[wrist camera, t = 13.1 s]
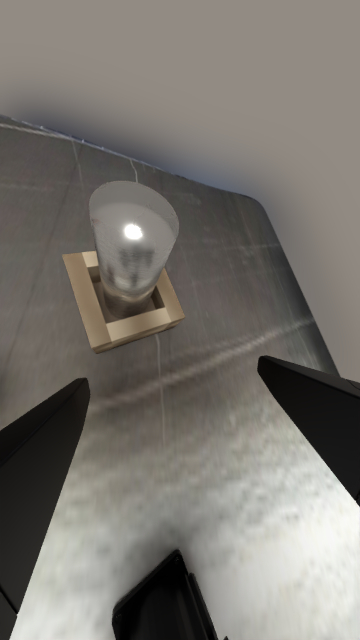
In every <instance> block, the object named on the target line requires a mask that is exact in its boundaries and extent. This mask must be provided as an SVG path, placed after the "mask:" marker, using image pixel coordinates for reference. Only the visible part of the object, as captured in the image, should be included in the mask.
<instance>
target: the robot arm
mask: <svg viewBox="0 0 360 640" xmlns="http://www.w3.org/2000/svg"><path fill="white" fill-rule="evenodd" d="M257 371H258V374H259V375H260V377H261V378H262V380H263V381H264V383H265V384H266V386H267V388H268V389H269V391H270V392H271V394H272V395H273V397H274V398H275V399H276V401H277V402H278V403H279V404H280V406H281V407H282V408H283V410H284V411H285V412H286V413H287V415H288V416H289V417H290V419H291V420H292V421H293V422H294V424H295V425H296V426H297V427H298V429H299V430H300V431H301V433H302V434H303V435H304V436H305V438H306V439H307V440H308V441H309V443H310V444H311V445H312V447H313V448H314V449H315V450H316V452H317V453H318V454H319V455H320V457H321V458H322V459H323V461H324V462H325V463H326V464H327V466H328V467H329V468H330V470H331V471H332V472H333V473H334V475H335V476H336V477H337V478H338V480H339V481H340V482H341V484H342V485H343V486H344V487H345V489H346V490H347V491H348V492H349V494H350V495H351V496H352V498H353V499H354V500H355V501H356V503H357V504H358V505H359V507H360V383H358V382H355V381H351V380H347V379H344V378H341V377H338V376H334V375H331V374H328V373H324V372H321V371H318V370H314V369H311V368H308V367H304V366H301V365H298V364H294V363H291V362H288V361H284V360H281V359H277V358H274V357H271V356H267V355H266V356H260V357H259V360H258V367H257ZM89 400H90V388H89V383H88V380H87V378H78V379H76V380H74V381H73V382H71V383H70V384H68V385H67V386H65V387H64V388H62V389H61V390H59V391H58V392H57V393H55V394H54V395H52V396H51V397H49V398H48V399H46V400H45V401H43V402H42V403H40V404H39V405H37V406H36V407H34V408H33V409H31V410H30V411H29V412H27V413H26V414H24V415H23V416H21V417H20V418H18V419H17V420H15V421H14V422H12V423H11V424H9V425H8V426H6V427H5V428H3V429H2V430H1V431H0V640H9V639H10V636H11V633H12V631H13V628H14V625H15V622H16V619H17V614H18V612H19V610H20V607H21V604H22V601H23V599H24V596H25V593H26V590H27V587H28V584H29V582H30V579H31V576H32V573H33V570H34V567H35V564H36V562H37V559H38V556H39V553H40V550H41V547H42V544H43V542H44V539H45V536H46V533H47V530H48V527H49V524H50V522H51V519H52V516H53V513H54V510H55V507H56V504H57V502H58V499H59V496H60V493H61V490H62V487H63V485H64V482H65V479H66V476H67V473H68V470H69V467H70V465H71V462H72V459H73V456H74V453H75V450H76V447H77V445H78V442H79V439H80V436H81V433H82V430H83V426H84V422H85V417H86V413H87V409H88V405H89ZM177 557H179V558H178V560H176V561H175V559H176V558H177ZM118 614H121V615H120V616H119V617H116V616H117V615H118ZM112 626H113V630H114V634H115V638H116V640H218V637H217V634H216V632H215V629H214V626H213V623H212V620H211V618H210V615H209V613H208V610H207V607H206V605H205V602H204V599H203V597H202V594H201V591H200V589H199V586H198V584H197V581H196V578H195V576H194V574H193V573H190V574H189V575H188V572H187V569H186V566H185V563H184V560H183V557H182V554H181V552H180V550H175V551H174V552H173V553H172V554H171V555H170V556H169V557H168V558H166V559H165V560H164V561H163V562H162V563H161V564H160V565H159V566H158V567H157V568H156V569H155V570H154V571H153V572H152V573H151V574H150V575H148V576H147V577H146V578H145V579H144V580H143V581H142V582H141V583H140V584H139V585H138V586H137V587H136V588H135V589H134V590H133V591H132V592H130V593H129V594H128V595H127V596H126V597H125V598H124V599H123V600H122V601H121V602H120V603H119V604H118V605H117V606H116V607H115V608H114V610H113V613H112ZM224 640H228V638H227V636H226V637H225V638H224Z"/></svg>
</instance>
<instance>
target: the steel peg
mask: <svg viewBox="0 0 360 640" xmlns="http://www.w3.org/2000/svg"><path fill="white" fill-rule="evenodd" d="M89 213H90V218H91V224H92V230H93V236H94V242H95V248H96V254H97V259H98V265H99V271H100V277H101V283H102V289H103V295H104V301H105V306H106V308H107V310H108V312H109V313H110V314H111V315H112V316H114V317H116V318H118V319H120V320H122V319H126V318H129V317H133V316H136V315H140V314H142V313H143V312H144V311H145V308H146V306H147V304H148V302H149V299H150V297H151V295H152V293H153V290H154V288H155V286H156V284H157V281H158V279H159V277H160V274H161V272H162V270H163V268H164V265H165V263H166V261H167V259H168V256H169V254H170V252H171V250H172V247H173V245H174V243H175V240H176V238H177V236H178V232H179V222H178V218H177V215H176V213H175V211H174V209H173V208H172V206H171V205H170V204H169V202H168V201H167V200H166V199H165V198H164V197H163V196H161V195H160V194H159V193H157V192H156V191H154V190H153V189H151V188H149V187H147V186H145V185H142V184H139V183H135V182H131V181H112V182H108V183H106V184H103V185H102V186H100V187H98V188H97V189H96V190H95V191H94V193H93V194H92V196H91V198H90V202H89Z"/></svg>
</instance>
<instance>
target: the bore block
mask: <svg viewBox="0 0 360 640" xmlns="http://www.w3.org/2000/svg"><path fill="white" fill-rule="evenodd" d="M62 256H63V259H64V262H65V265H66V269H67V272H68V275H69V278H70V281H71V285H72V288H73V291H74V294H75V297H76V301H77V304H78V307H79V310H80V313H81V317H82V320H83V323H84V326H85V329H86V333H87V336H88V339H89V342H90V345H91V348H92V349H93V350H94V351H95V352H96V353H97V354H98V353H101V352H104V351H107V350H110V349H112V348H115V347H118V346H121V345H124V344H127V343H130V342H133V341H136V340H139V339H141V338H144V337H147V336H150V335H153V334H156V333H159V332H162V331H165V330H167V329H170V328H173V327H175V326H176V325H177V324H178V323H179V322H180V321H182V320H183V319H184V318H185V315H184V313H183V311H182V308H181V306H180V304H179V301H178V299H177V296H176V294H175V292H174V289H173V287H172V285H171V282H170V280H169V277H168V275H167V273H166V270H165V268H163V270H162V272H161V274H160V277H159V279H158V281H157V284H156V286H155V288H154V290H153V293H152V295H151V297H150V299H149V302H148V304H147V306H146V308H145V311H144V312H143V313H142V314H140V315H136V316H133V317H129V318H126V319H122V320H120V319H118V318H116V317H114V316H112V315H111V314H110V313H109V312H108V310H107V308H106V306H105V301H104V295H103V289H102V283H101V277H100V271H99V265H98V259H97V254H96V251H91V252H83V253H74V254H65V255H62Z"/></svg>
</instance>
